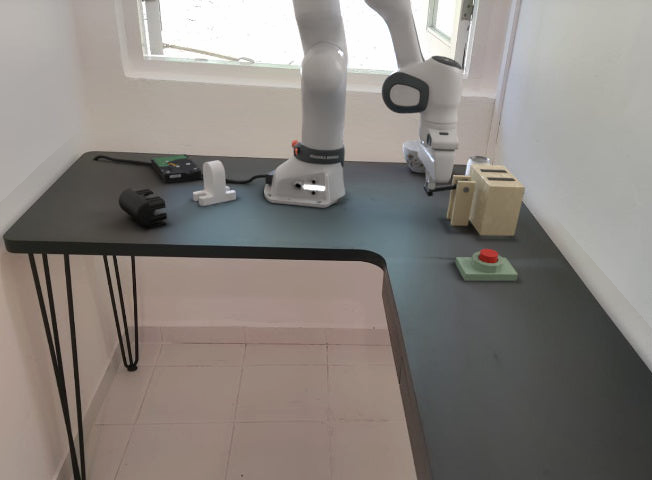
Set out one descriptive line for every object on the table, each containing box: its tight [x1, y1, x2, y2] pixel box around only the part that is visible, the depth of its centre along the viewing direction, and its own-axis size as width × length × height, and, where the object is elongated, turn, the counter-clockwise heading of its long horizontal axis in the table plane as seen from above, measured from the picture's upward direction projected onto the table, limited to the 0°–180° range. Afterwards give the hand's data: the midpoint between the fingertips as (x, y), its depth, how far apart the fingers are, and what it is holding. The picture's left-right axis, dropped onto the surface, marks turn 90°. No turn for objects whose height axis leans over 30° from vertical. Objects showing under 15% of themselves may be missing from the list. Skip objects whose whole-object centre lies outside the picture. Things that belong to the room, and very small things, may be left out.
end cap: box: [118, 187, 168, 229], centre depth 138 cm, size 10×7×7 cm
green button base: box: [454, 250, 519, 282], centre depth 133 cm, size 12×8×4 cm, turn 99°
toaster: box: [469, 164, 526, 237], centre depth 152 cm, size 9×16×14 cm, turn 9°
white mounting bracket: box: [192, 159, 237, 207], centre depth 153 cm, size 5×10×10 cm, turn 131°
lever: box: [423, 179, 469, 197], centre depth 148 cm, size 11×5×2 cm, turn 99°
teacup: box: [402, 139, 426, 174], centre depth 187 cm, size 15×12×8 cm
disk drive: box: [150, 154, 203, 183], centre depth 168 cm, size 10×3×15 cm
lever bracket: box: [446, 174, 476, 227], centre depth 151 cm, size 6×8×13 cm
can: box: [464, 155, 491, 176], centre depth 169 cm, size 6×6×12 cm
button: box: [479, 248, 499, 263], centre depth 132 cm, size 4×4×2 cm
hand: (429, 187), depth 147 cm, fingers closed, pressing on lever
